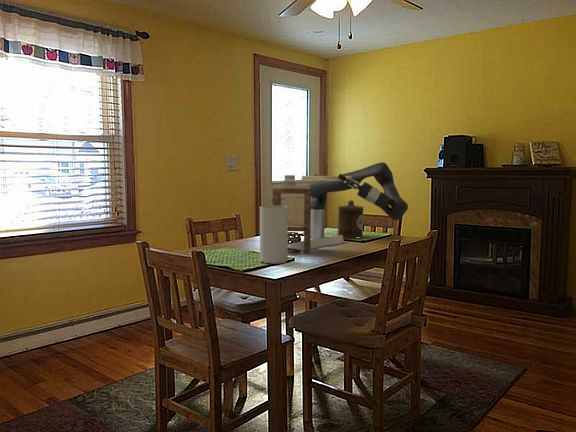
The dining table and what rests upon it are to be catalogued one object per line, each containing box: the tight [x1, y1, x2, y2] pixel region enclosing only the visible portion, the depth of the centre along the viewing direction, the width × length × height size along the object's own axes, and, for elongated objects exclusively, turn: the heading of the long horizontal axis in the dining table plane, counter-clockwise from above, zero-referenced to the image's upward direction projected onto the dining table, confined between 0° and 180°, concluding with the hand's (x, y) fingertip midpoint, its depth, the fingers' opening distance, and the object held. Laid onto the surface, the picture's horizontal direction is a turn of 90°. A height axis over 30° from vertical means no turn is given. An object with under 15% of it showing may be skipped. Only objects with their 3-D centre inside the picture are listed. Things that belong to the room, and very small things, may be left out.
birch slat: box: [301, 175, 351, 181], centre depth 253 cm, size 4×24×2 cm, turn 85°
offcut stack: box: [282, 174, 296, 187], centre depth 262 cm, size 4×6×6 cm
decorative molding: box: [288, 235, 345, 251], centre depth 279 cm, size 34×5×10 cm
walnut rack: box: [272, 186, 312, 255], centre depth 260 cm, size 16×18×32 cm
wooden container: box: [337, 199, 364, 239], centre depth 307 cm, size 15×15×22 cm
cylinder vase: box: [259, 204, 289, 265], centre depth 232 cm, size 12×12×25 cm
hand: (339, 175), depth 252 cm, fingers closed on birch slat, 4 cm apart
